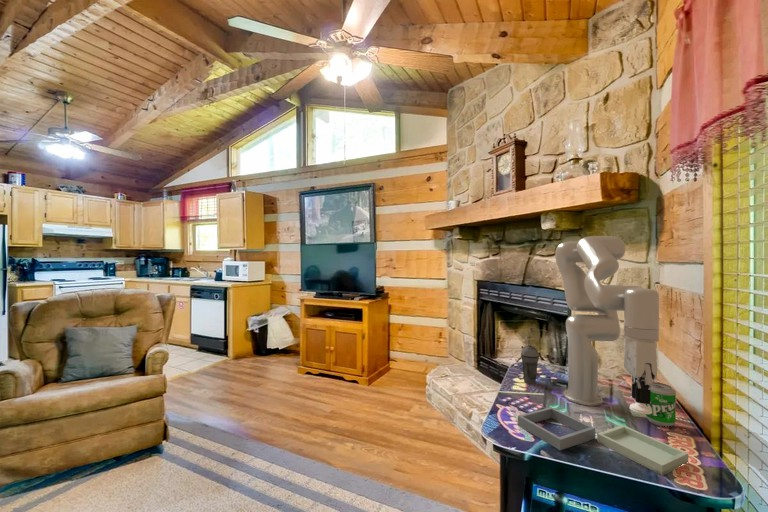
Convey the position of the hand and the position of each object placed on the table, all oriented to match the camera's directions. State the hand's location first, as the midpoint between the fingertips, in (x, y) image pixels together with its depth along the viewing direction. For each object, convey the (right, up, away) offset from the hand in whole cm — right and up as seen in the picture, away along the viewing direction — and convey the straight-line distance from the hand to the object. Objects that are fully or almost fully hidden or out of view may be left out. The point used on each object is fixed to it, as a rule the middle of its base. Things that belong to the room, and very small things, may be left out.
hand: (640, 400), depth 91 cm
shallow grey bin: (-18, -14, +11) cm, 25 cm away
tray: (0, -14, 0) cm, 14 cm away
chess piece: (0, -3, 0) cm, 3 cm away
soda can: (+19, -15, +16) cm, 29 cm away
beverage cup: (-8, -14, +50) cm, 53 cm away
